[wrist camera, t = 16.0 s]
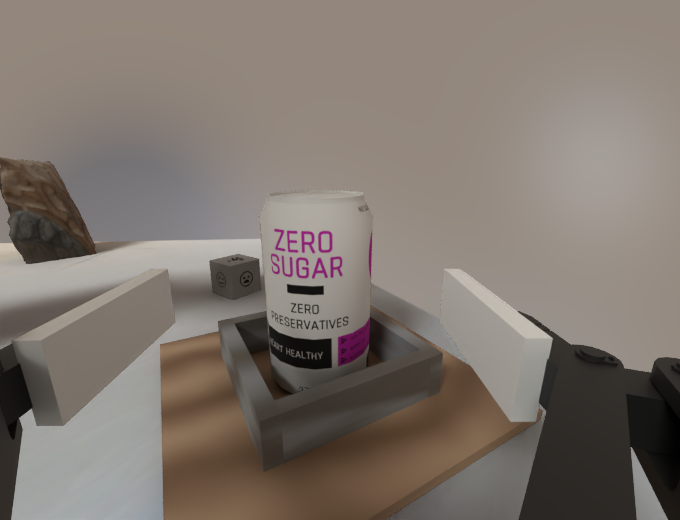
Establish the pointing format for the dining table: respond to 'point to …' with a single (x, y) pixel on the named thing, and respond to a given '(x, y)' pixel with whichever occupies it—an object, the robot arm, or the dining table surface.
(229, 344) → the collar board
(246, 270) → the dice cube
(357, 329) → the supplement can
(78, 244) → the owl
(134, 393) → the dining table surface
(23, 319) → the dining table surface
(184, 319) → the dining table surface
